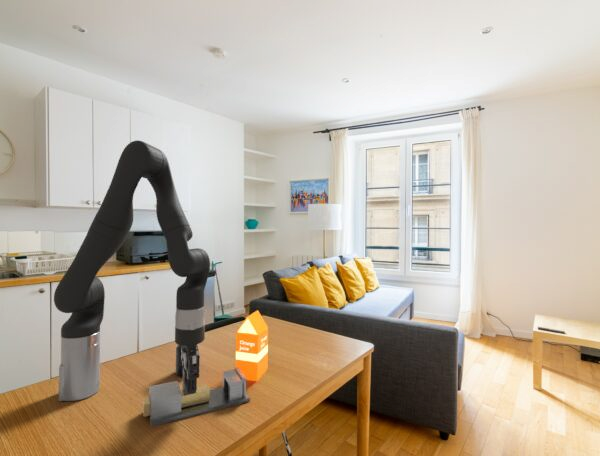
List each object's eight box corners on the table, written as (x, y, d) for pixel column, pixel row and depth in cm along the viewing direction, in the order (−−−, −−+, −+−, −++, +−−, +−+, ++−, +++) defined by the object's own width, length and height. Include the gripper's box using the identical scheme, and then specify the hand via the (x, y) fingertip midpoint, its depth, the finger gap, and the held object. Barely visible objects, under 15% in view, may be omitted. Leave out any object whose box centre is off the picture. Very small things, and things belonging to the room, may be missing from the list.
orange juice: (267, 369, 109) (268, 310, 109) (257, 381, 100) (258, 317, 100) (246, 366, 111) (247, 308, 111) (234, 378, 102) (235, 315, 102)
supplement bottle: (190, 378, 101) (190, 340, 101) (171, 376, 103) (171, 338, 103) (201, 369, 108) (201, 333, 108) (183, 367, 110) (183, 332, 109)
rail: (150, 426, 77) (151, 399, 77) (148, 407, 85) (149, 383, 85) (249, 401, 89) (250, 378, 89) (240, 386, 97) (240, 365, 97)
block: (143, 416, 79) (144, 380, 79) (143, 409, 82) (143, 374, 82) (209, 401, 87) (210, 367, 86) (206, 394, 90) (207, 362, 90)
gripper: (171, 318, 90) (171, 377, 90) (178, 334, 77) (178, 402, 78) (199, 315, 94) (198, 371, 94) (210, 329, 81) (209, 395, 81)
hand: (189, 385), depth 86 cm, fingers open, 7 cm apart
